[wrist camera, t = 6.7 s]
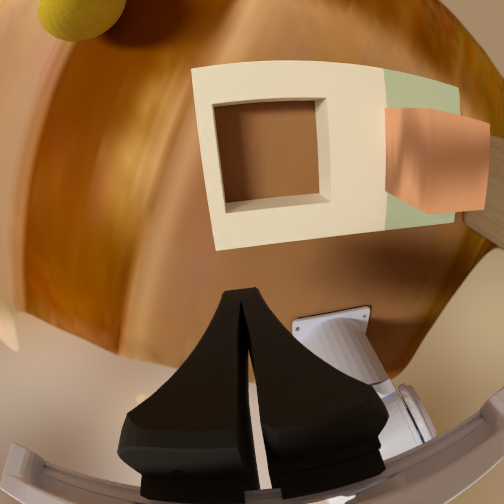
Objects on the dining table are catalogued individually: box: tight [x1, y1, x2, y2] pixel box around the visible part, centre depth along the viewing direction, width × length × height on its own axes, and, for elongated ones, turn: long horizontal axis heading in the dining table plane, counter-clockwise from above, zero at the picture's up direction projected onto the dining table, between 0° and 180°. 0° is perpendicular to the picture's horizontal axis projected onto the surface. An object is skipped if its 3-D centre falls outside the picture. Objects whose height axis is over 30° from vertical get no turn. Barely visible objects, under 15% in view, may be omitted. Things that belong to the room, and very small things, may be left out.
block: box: [384, 108, 490, 214], centre depth 14 cm, size 6×6×5 cm
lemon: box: [38, 0, 126, 42], centre depth 8 cm, size 6×6×8 cm
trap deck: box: [191, 61, 460, 251], centre depth 17 cm, size 12×20×2 cm, turn 96°
